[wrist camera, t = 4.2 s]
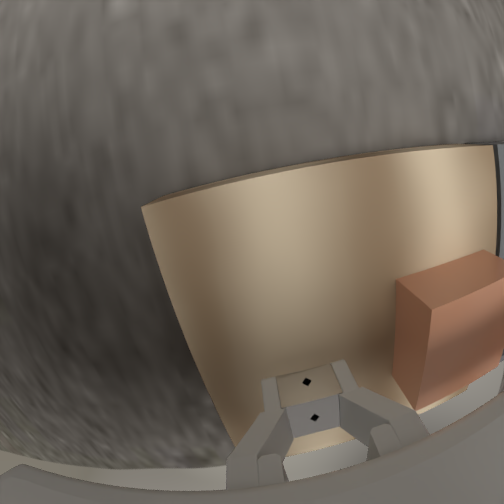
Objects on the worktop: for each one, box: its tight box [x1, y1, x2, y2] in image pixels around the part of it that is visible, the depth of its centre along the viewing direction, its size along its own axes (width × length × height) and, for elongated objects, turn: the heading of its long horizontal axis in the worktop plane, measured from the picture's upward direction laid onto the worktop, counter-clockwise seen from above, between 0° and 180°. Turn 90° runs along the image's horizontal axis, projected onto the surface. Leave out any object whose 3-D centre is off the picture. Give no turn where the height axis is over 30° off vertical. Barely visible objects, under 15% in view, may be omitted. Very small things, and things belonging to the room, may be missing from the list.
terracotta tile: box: [392, 249, 504, 411], centre depth 9 cm, size 5×5×2 cm
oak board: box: [141, 144, 497, 457], centre depth 12 cm, size 14×14×3 cm
